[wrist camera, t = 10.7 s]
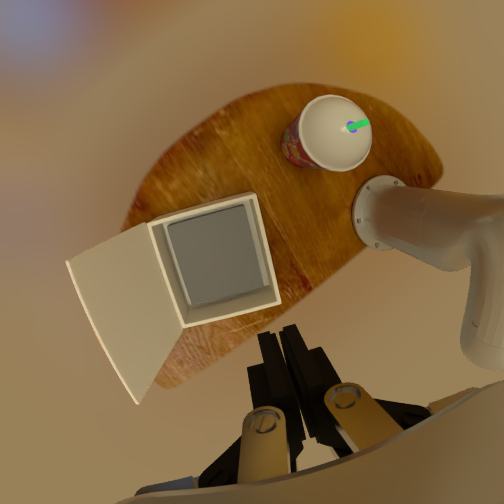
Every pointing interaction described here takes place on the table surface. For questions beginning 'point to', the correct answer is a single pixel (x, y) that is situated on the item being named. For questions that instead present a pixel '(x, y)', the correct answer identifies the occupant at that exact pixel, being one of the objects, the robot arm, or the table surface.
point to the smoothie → (328, 135)
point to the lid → (128, 306)
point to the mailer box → (215, 259)
